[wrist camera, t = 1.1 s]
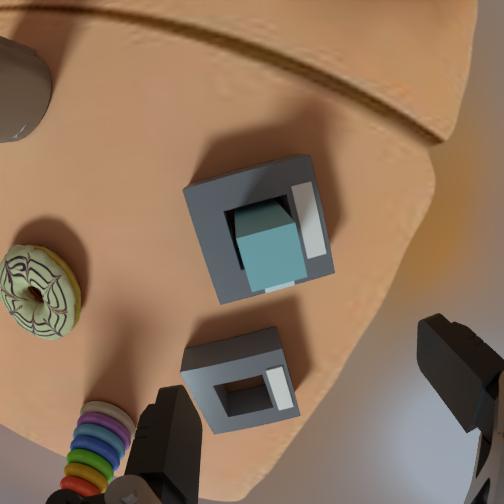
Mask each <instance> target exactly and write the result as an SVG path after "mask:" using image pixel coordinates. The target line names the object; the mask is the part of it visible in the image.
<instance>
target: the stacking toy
mask: <svg viewBox="0 0 504 504" xmlns="http://www.w3.org/2000/svg"><path fill="white" fill-rule="evenodd" d="M134 435H135V425H134V423H133V421H132V420H131V418H130V417H129V416H128V415H127V414H126V413H125V412H124V411H123V410H121V409H120V408H118V407H116V406H114V405H112V404H110V403H106V402H102V401H91V402H88V403H86V404H85V405H84V406H83V407H82V408H81V411H80V418H79V419H78V421H77V428H76V429H75V430H74V433H73V439H74V440H73V441H72V442H71V446H70V449H71V451H70V452H69V453H68V455H67V464H68V465H66V467H65V469H64V474H65V477H64V478H63V479H62V480H61V482H60V487H61V489H71V490H74V491H75V492H76V493H77V494H79V495H80V496H81V497H87V496H92V495H96V494H101V493H105V491H106V489H107V487H108V482H110V481H111V480H112V478H113V475H114V471H116V470H117V469H118V467H119V465H120V460H121V459H122V458H123V457H124V455H125V451H126V450H127V449H128V448H129V447H130V444H131V440H132V439H133V437H134Z"/></svg>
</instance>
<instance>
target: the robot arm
mask: <svg viewBox="0 0 504 504" xmlns="http://www.w3.org/2000/svg"><path fill="white" fill-rule="evenodd" d="M50 95H51V77H50V72H49V70H48V68H47V66H46V65H45V63H44V62H43V61H42V60H40V59H38V58H37V57H36V56H35V51H34V49H32V48H29V47H27V46H25V45H22V44H20V43H17V42H15V41H12V40H9V39H7V38H4V37H2V36H0V143H5V142H12V141H18V140H20V139H22V138H25V137H26V136H27V135H29V134H30V133H31V132H32V131H33V130H34V129H35V128H36V127H37V125H38V124H39V122H40V121H41V119H42V118H43V116H44V114H45V112H46V109H47V106H48V103H49V100H50ZM417 336H418V337H417V362H418V366H419V368H420V370H421V372H422V373H423V374H424V376H425V377H426V378H427V380H428V381H429V382H430V384H431V385H432V386H433V388H434V389H435V390H436V392H437V393H438V394H439V396H440V397H441V398H442V400H443V401H444V403H445V404H446V405H447V407H448V408H449V409H450V411H451V412H452V414H453V415H454V416H455V418H456V419H457V420H458V422H459V423H460V425H461V426H462V427H463V429H464V430H465V432H466V433H468V432H470V431H472V430H473V429H475V428H477V427H478V428H479V430H480V431H481V433H480V436H479V442H478V449H477V455H476V461H475V467H474V472H473V477H472V482H471V485H470V489H469V491H468V494H467V496H466V499H465V501H464V504H504V359H502V358H501V357H500V356H499V355H498V354H497V353H496V352H495V351H494V350H493V349H492V348H491V347H490V346H488V345H487V344H486V343H484V341H483V340H482V339H481V338H480V337H478V336H476V334H475V333H474V332H473V331H472V330H471V329H470V328H468V327H467V326H465V325H462V324H459V323H457V322H453V323H450V322H449V321H448V320H447V319H446V318H445V317H444V316H443V315H441V314H440V313H437V314H435V315H433V316H430V317H427V318H425V319H422V320H420V321H419V322H418V333H417ZM134 437H135V439H134V440H133V443H132V447H131V451H130V454H129V458H128V462H127V466H126V470H125V473H124V476H121V477H118V478H116V479H115V480H113V481H112V482H111V483H110V484H109V485H108V487H107V489H106V491H105V493H101V494H96V495H92V496H87V497H81V496H80V495H79V494H77V493H76V492H75V491H74V490H71V489H60V490H58V491H55V492H54V493H53V494H51V495H50V497H49V498H48V499H47V501H46V504H198V491H199V474H200V459H201V445H202V423H201V419H200V416H199V414H198V412H197V410H196V408H195V407H194V405H193V403H192V401H191V399H190V397H189V395H188V393H187V391H186V389H185V387H184V386H183V385H176V386H170V387H163V388H160V389H159V391H158V395H157V398H156V402H155V404H149V405H148V406H147V407H146V409H145V410H144V411H143V413H142V414H141V415H140V419H139V422H138V426H137V430H136V433H135V436H134Z"/></svg>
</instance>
